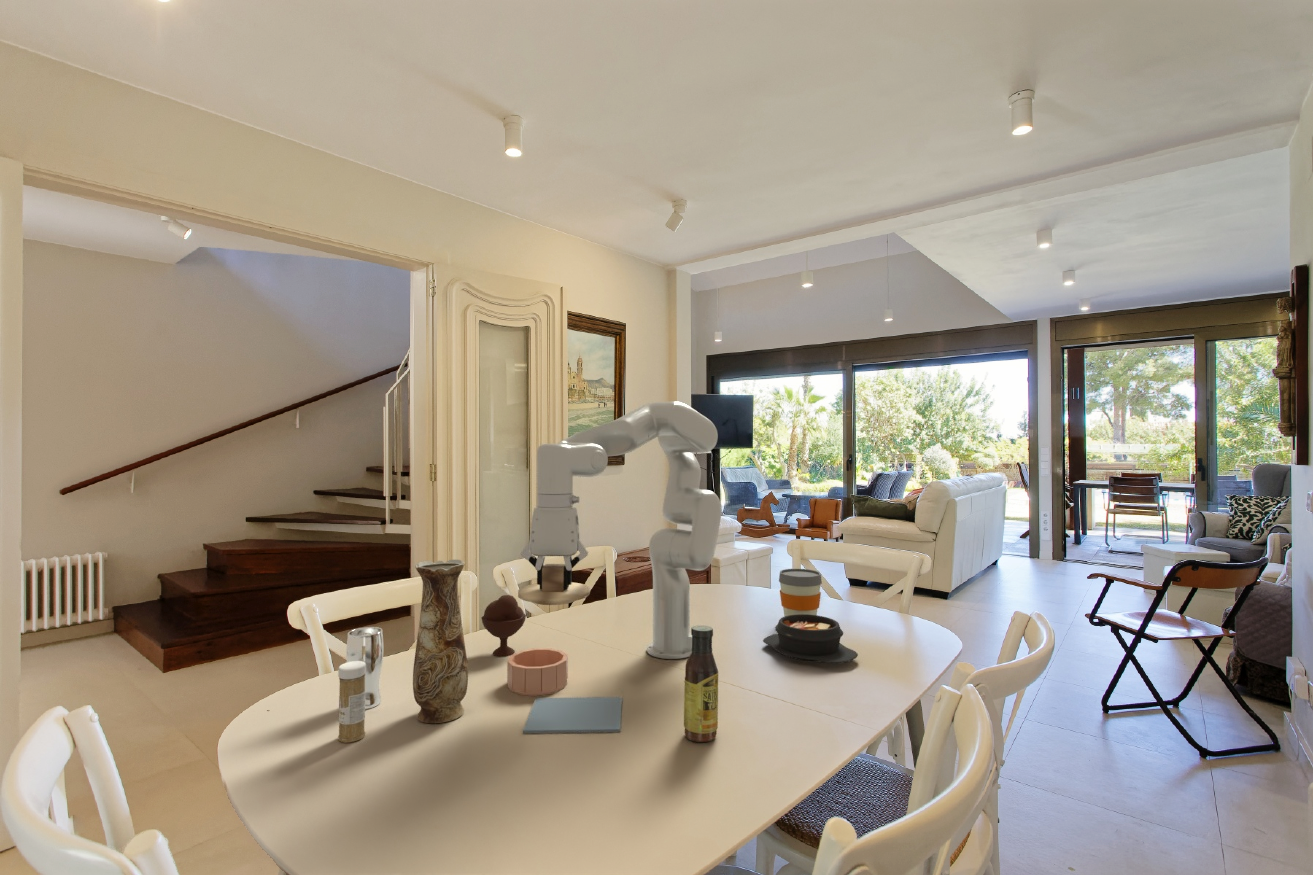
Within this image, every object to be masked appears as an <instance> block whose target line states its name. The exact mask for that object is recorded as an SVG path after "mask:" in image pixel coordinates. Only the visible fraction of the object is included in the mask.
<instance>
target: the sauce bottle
mask: <svg viewBox="0 0 1313 875" xmlns="http://www.w3.org/2000/svg"><path fill="white" fill-rule="evenodd" d="M690 632H691V635H692V653H691V655H690V656H689V657H687V659H686V662H685V672H684V687H683V688H684V689H683V690H684V696H683V698H684V700H683V703H684V704H683V727H684V736H685V738H686V739H687V740H690V741H692V742H696V743H707V742H711V741H714V740H715V739H716V737H717V732H718V729H719V727H718V726H719V725H718V724H719V721H718V720H719V718H718V717H719V714H718V713H719V669H718V666H717V664H716V660H715V656H714V653H713V637H714V630H713V627H712V626H709V625H701V624H700V625H699V624H698V625H693V626H692V627H691V629H690Z"/></svg>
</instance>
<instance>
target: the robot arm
mask: <svg viewBox="0 0 1313 875" xmlns="http://www.w3.org/2000/svg"><path fill="white" fill-rule="evenodd" d="M718 434H719V433H718V429H717V427H716V426H715V424H714V423H713V421H711V420H710V419H709V418H707V417H706V416H705V415H703V414H701V413H700V412H698V411H697V410H696V409H694V408H693V407H691V406H690V405H687V404H686V403H683V402H681V401H676V400H675V401H673V400H672V401H655V402H649V403H648V402H647V403H646V404H643V405H642V406H639V407H638V408H636V409H634V410H632V411H630V412H628V413H626V414H624V415H623V416H620V417H619V418H617V419H614V420H612V421H609V422H605V423H602V424H600V425H597V426H594V427H591V428H588V429H585V430H581V431H579V432H577V433H574V434H572V435H571V436H568V437H566V438H564V439H562V440H561V441H559V442H557V443H542V444H540V445H539V446H538V448H537V451H536V507H534V508H533V510H532V516H531V522H530V533H529V540H528V542H527V543H526V545H525V546H524V548H523V549H522V551H521V552H520V557H521V558H523V559H525V560H527V562H529V563H530V564H531V565H532V566H533V567H534V568H535V570H536V571H537V572H536V573H537V574H536V583H537V585H540V590H542V568H543V566H544V565H545V564H544V563H545V559H546V557H563V562H564V564H565V566H566V567H565V570H564V589H565V590H567V589H568V587H569V585H571V584H572V582H573V581H572V580H573V576H572V574H573V573H572V571H573V570H572V569H573V568H574V567H575V566H576V565H577V564H578V563H579V562H581V561H582V560H584V559H585V558H586V557H588V556H589V551H588V550H587V549H586V547H585V546H584V544H583V543H582V541H581V540H580V525H579V516H578V509H577V507H573V506H574V504H576V503H577V504H579V503H580V496H576V495H574V493H573V492H574V490H573V485H574V484H573V479H574V477H579V478H581V477H582V478H592V477H596V476H599V475H600V474H602V473H603V472H604V471H605V470H606V468H607V467H608V462H609V461H608V460H609V458H608V457H614V456H620V455H625V454H629V453H632V452H634V451H635V450H637V449H639V448H640V447H642V446H644V445H645V444H647V443H649V442H650V441H653V440H654V439H656V438H657V440H658V444H659V445H660V447H661V449H662V451H663V453H664V455H665V457H666V459H667V462H668V468H669V471H668V477H667V481H666V482H667V483H666V487H665V493H664V499H663V504H662V515H663V518H664V520H666V521H667V522H669V523H671V524H675V525H681V526H688V527H689V526H690V527H691V530H687V529H679V528H672V527H671V528H660V529H658V530H657V531H655V532H654V533H653V534H652V536H651V537H650V539H649V544H648V551H649V559H650V562H651V564H650V565H651V571H652V641H651V642H650V643H648V645H647V646H646V652H647V654H648V655H650V656H651V657H655V658H658V659H659V658H660V659H667V660H679V659H685V658H689V656H690V655H691V653H692V635H691V629H690V627H691V626H690V620H691V619H690V618H691V617H690V616H691V615H690V613H691V612H690V606H691V604H690V603H691V602H690V601H691V597H690V596H691V592H690V591H691V588H690V587H691V584H690V579H689V576H688V572H687V570H691V571H704V570H706V569H707V568H708V567H709V568H710V565H711V564H712V562H713V559H714V558H715V557H714V556H715V552H716V547H717V541H718V535H719V532H720V531H719V530H720V525H721V524H720V523H721V519H722V504H721V500H720V498H719V497H718V495H717V494H716V493H715V492H714V491H712V490H709V489H701V488H700V486H701V485H700V484H701V477H702V470H701V466H700V463H699V461H698V459H697V457H696V456H695V454H694V453H697V454H698V453H702V454H704V453H708V452H711V451H712V450H713V449H715V447H716V445H717V443H718V436H719V435H718ZM578 551H579V554H577V553H578ZM576 554H577V555H576ZM572 556H575V557H574V558H573V557H572Z"/></svg>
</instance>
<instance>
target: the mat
mask: <svg viewBox="0 0 1313 875" xmlns="http://www.w3.org/2000/svg"><path fill="white" fill-rule="evenodd" d="M622 702H623V696H601V697H599V696H597V697H596V696H594V697H593V696H592V697H591V696H589V697H587V696H585V697H582V696H581V697H580V696H579V697H578V696H577V697H575V696H574V697H536V698H535V700H534V702H533V705H532V706H531V707H532V708H531V709H530V712H529V715H528V717H527V720H526V722H525V726H524V727H523V731H522V733H523V734H550V733H551V734H556V733H557V734H559V733H561V734H563V733H567V734H568V733H571V734H572V733H575V734H576V733H621V723H622V722H621V720H622Z"/></svg>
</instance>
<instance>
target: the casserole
mask: <svg viewBox="0 0 1313 875" xmlns="http://www.w3.org/2000/svg"><path fill="white" fill-rule="evenodd" d="M774 630H775V632H776V633H774V634H771V635H768V636H766V637H764V638H763V640H762V642H763V643H764V644H766V645H767V646H769V647H771V648H772V649H774V651H776V652H777V653H779V654H781V655H784V656H786V657H790V658H792V659H795V660H799V661H804V662H819V663H824V664H825V663H826V664H831V665H832V664H833V665H834V664H835V665H836V664H842V663H847V662H852V661H853V660H855V659H857V657H858V656H859V654H858V652H856V651H855V650H853V649H852V648H850V647H846V646H845V645H844V644H842V643H840V642H841V638H842V637H843V636H844V630H843V629H841V626H840V623H839V622H838V621H837V620H835V619H833V618H830V617H826V616H821V615H807V614H798V615H789V616H785V617H784V616H782V617H780V618H779V619H778V623H777V625H776V626H775V627H774Z"/></svg>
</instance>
